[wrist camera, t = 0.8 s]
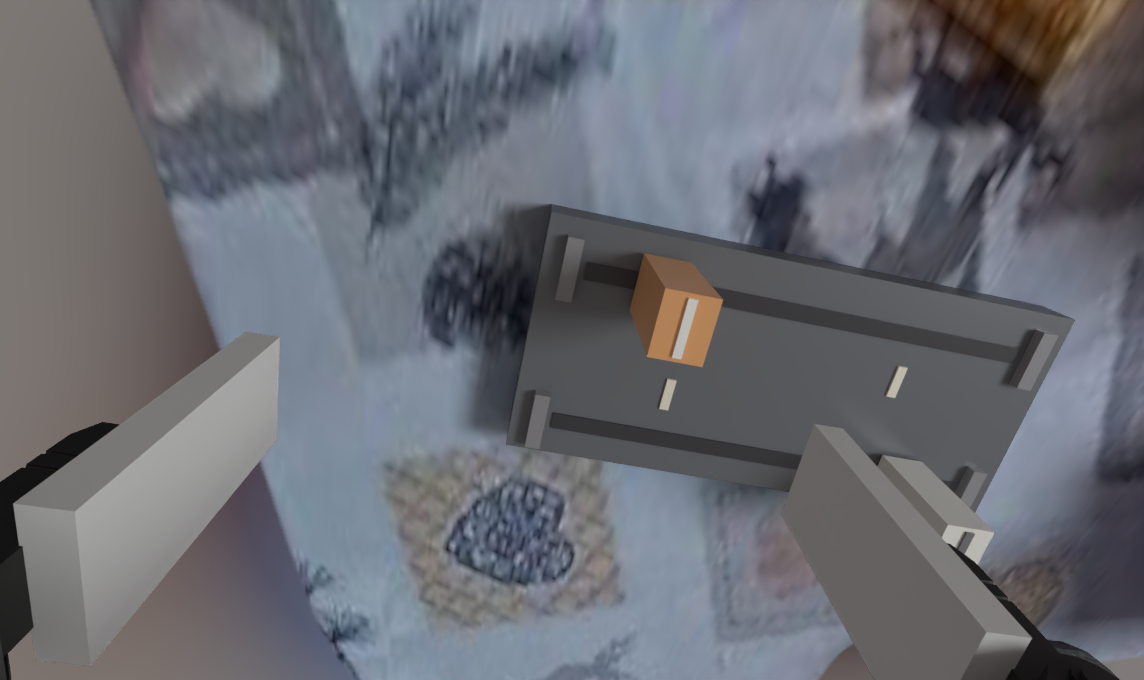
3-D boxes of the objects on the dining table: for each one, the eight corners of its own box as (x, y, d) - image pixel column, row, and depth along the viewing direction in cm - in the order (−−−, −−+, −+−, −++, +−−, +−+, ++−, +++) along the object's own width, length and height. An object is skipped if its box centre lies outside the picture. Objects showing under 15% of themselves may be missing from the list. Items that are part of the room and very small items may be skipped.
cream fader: (882, 454, 35) (949, 526, 29) (922, 461, 35) (996, 534, 29) (862, 499, 36) (924, 576, 30) (901, 505, 36) (969, 583, 30)
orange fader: (643, 253, 30) (666, 288, 25) (691, 262, 31) (723, 300, 25) (629, 310, 31) (647, 357, 26) (675, 318, 32) (703, 368, 26)
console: (551, 204, 32) (551, 213, 29) (1041, 305, 35) (1084, 323, 32) (508, 423, 37) (505, 450, 34) (946, 498, 39) (976, 528, 37)
